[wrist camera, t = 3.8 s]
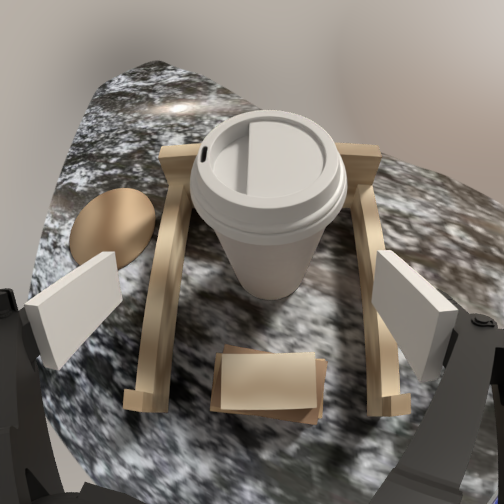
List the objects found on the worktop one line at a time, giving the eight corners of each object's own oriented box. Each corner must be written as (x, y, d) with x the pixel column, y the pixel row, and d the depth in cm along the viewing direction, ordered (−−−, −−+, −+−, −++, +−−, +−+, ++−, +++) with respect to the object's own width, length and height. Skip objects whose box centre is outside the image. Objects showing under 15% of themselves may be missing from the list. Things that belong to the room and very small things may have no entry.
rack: (180, 197, 35) (161, 146, 28) (361, 197, 34) (378, 145, 27) (151, 410, 24) (110, 407, 17) (383, 414, 23) (423, 413, 16)
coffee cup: (244, 213, 33) (228, 92, 20) (333, 242, 31) (366, 124, 18) (203, 293, 30) (150, 192, 16) (300, 331, 27) (327, 250, 14)
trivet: (136, 176, 37) (135, 174, 37) (171, 238, 33) (170, 236, 32) (63, 221, 35) (62, 219, 35) (85, 291, 30) (83, 289, 30)
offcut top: (225, 358, 24) (222, 353, 22) (311, 356, 23) (314, 351, 21) (224, 409, 22) (220, 409, 20) (313, 407, 21) (316, 407, 20)
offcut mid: (228, 348, 26) (224, 344, 24) (323, 365, 25) (327, 361, 23) (214, 406, 24) (210, 405, 22) (313, 423, 22) (316, 424, 21)
